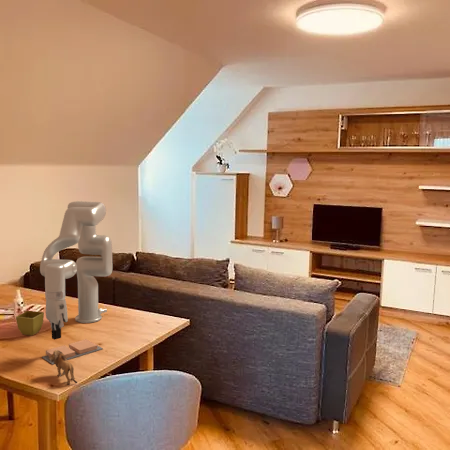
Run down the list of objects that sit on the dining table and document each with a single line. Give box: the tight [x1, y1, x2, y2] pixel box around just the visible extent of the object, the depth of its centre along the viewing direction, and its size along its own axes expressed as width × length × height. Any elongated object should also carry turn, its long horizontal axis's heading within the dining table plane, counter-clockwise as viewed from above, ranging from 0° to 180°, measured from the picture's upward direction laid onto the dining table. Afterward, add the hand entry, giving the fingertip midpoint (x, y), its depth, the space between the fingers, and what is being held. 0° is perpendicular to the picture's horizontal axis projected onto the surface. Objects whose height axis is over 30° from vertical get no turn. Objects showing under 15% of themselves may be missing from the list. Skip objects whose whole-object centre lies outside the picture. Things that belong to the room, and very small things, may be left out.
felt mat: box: [41, 345, 104, 366], centre depth 190 cm, size 22×9×1 cm, turn 136°
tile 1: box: [45, 345, 75, 358], centre depth 187 cm, size 8×2×9 cm
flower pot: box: [15, 310, 45, 336], centre depth 210 cm, size 9×9×9 cm
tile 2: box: [68, 338, 98, 354], centre depth 194 cm, size 8×2×9 cm
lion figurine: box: [49, 350, 78, 385], centre depth 168 cm, size 15×5×9 cm, turn 52°
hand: (56, 338), depth 188 cm, fingers closed
